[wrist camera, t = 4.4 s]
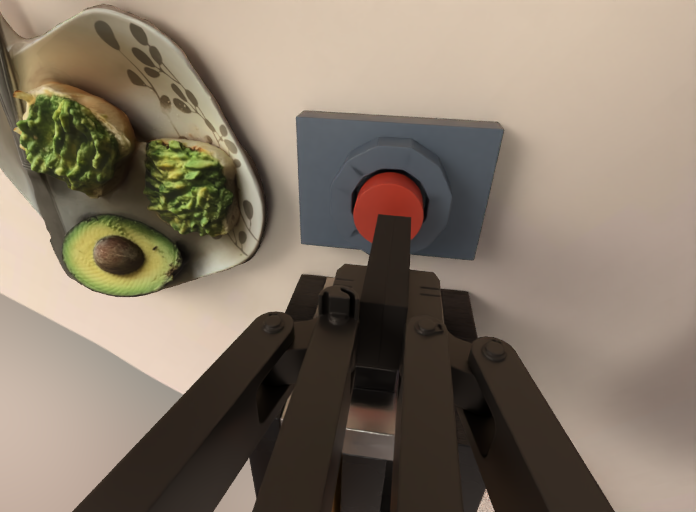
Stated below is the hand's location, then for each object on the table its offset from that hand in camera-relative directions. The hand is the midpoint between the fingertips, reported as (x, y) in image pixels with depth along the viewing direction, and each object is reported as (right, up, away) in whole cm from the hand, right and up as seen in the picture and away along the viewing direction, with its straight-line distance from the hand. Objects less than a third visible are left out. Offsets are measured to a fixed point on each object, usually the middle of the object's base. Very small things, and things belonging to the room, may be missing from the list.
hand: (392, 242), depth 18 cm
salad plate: (-16, +5, +8) cm, 19 cm away
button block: (+1, +4, +6) cm, 7 cm away
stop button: (0, +2, +3) cm, 4 cm away
